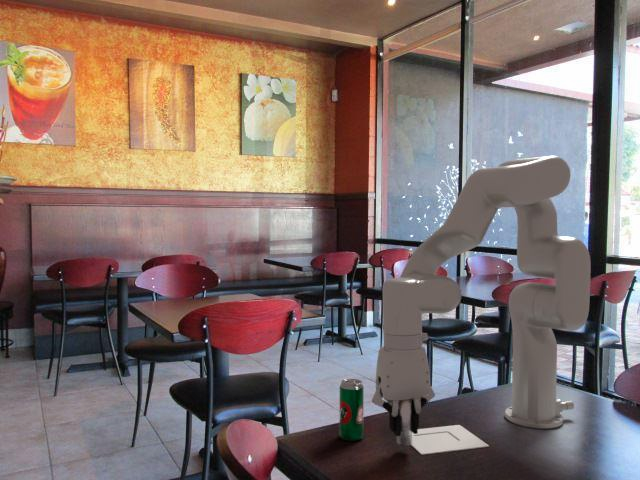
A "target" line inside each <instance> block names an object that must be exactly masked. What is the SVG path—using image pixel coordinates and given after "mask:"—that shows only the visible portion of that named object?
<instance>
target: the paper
mask: <svg viewBox="0 0 640 480" xmlns="http://www.w3.org/2000/svg"><path fill="white" fill-rule="evenodd" d="M410 446H412V448H414V449H415V450H416V451H417V452H418V454H419V455H421V456H425V455H432V454H433V455H434V454H440V453H449V452H455V451H456V452H457V451H466V450H473V449H480V448H489V447H490V445H489V444H487V443H486V442H484V441H483V440H482V439H481V438H479V437H478V436H476V435H475V434H473V433H472V432H471V431H469V430H467V429H466V428H465V427H464V426H462V425H460V424H454V425H446V426H436V427H427V428H418V433H417V434H414V433H413V432H412V444H411V445H410Z"/></svg>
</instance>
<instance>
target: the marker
mask: <svg viewBox="0 0 640 480" xmlns="http://www.w3.org/2000/svg"><path fill="white" fill-rule="evenodd" d="M398 415H399V416H400V418H401V435H400V436H396V444H398V446H402V447H409V446H411V444H412V400H411V399H407V400H399V403H398Z"/></svg>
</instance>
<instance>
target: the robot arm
mask: <svg viewBox="0 0 640 480" xmlns="http://www.w3.org/2000/svg"><path fill="white" fill-rule="evenodd" d="M570 181H571V169H570V166H569V165H568V163H567V161H566V160H565V159H563V158H562V157H560V156H557V155H545V156H536V157H535V156H534V157H525V158H518V159H517V158H516V159H512V160H507V161H505V162H502V163H500V164H499V165H498V166H495V167H486V168H480V169H477V170H475V171H474V172H472V173H471V174H470V175H469V177H468V178H467V180H466V181H465V183H464V185H463V186H462V188H461V191H460V193H459V195H458V197H457V199H456V200H455V203H454V205H453V206H452V208H451V210H450V213H449V214H448V215H447V218H446V220H445V221H444V223H443V225H442V226H441V227H439V228H438V229H437V230H436V231H435V232H433V233H432V234H431V235H430V236H428V237H427V238H426V239H425V240H424V241H423V242H422V243H420V244H419V246H418V247H417V248H416V249H415V250H414V251H413V252H412V254H411V255H410V257H409V259H408V261H407V262H406V264H405V265H404V268H403V269H402V272H401V274H400V276H399V277H393V278H388V279H386V280H385V281H384V282H383V284H382V316H383V317H382V321H383V323H382V327H383V328H382V329H383V330H382V331H383V346H380V347H379V349H378V355H377V361H376V362H377V363H376V371H375V373H376V374H375V392H374V395H373V396H372V398H371V402H372V403H373V404H374V405H376V406H378V407H380V408H383V409H384V410H386V412H388V416H389V429H390V431H391V432H392V433H393V434H394V435H395V436H396V437H397V436H400V435H401V418H400V416H399V415H398V403H399V400H407V399H411V400H412V432H413V433H414V434H417V433H418V429H419V428H420V414H421V412H422V409H423V408H424V407H425V406H426V404H427V402H429V401H431V400H432V399H433V398H435V396H436V393H435V392H434V390H433V388H432V386H431V376H430V366H429V360H428V356H427V350H426V347H425V346H424V342H425V340H426V341H427V340H429V335H428V333H427V332H423V316H422V315H424V314H437V315H438V314H439V315H440V314H448V313H450V312H452V311H454V310H455V309H457V307H458V306H459V304H460V303H461V300H462V289H461V287H460V286H459V283H457V282H456V280H455V279H453V278H451V277H448V276H446V275H445V276H444V275H439V274H436V272H437V270H439V268H441V266H442V265H444V263H446V262H447V261H449V260H450V259H453V258H454V257H456V256H459V255H461V254H464V253H466V252H468V251H470V250H472V249H474V248H476V247H478V246H479V245H481V243H482V242H483V241H484V238H485V237H486V234H487V232H488V230H489V227H490V226H491V224H492V222H493V219H494V218H495V217H496V214H497V212H498V210H499V209H501V208H514V211H515V213H516V220H517V221H516V222H517V224H516V225H517V232H516V233H517V237H516V239H517V240H516V241H517V243H516V263H517V268H518V270H519V272H521V273H522V274H524V275H527V276H530V277H533V278H534V277H535V278H544V279H553V280H554V281H555V284H552V283H551V284H550V283H542V282H533V281H532V282H531V281H528V282H522V283H520V284H518V285H515V287H514V288H512V291H510V293H509V297H508V309H509V315H510V320H511V329H512V369H511V370H512V372H511V373H512V383H511V385H512V386H511V390H512V391H511V393H512V394H511V406H509V407H507V408H506V409H505V411H504V416H505V419H507V420H508V421H509V422H511V423H512V424H515V425H519V426H523V427H525V428H530V429H531V428H532V429H542V430H543V429H553V428H558V427H560V426H562V425H563V424H564V416H563V415H562V414H561V413H562V412H563V411H571V410H574V409H575V404H574V402H573V401H572V400H567V401H562V400H561V399H560V398H559V399H558V398H557V376H558V372H557V370H558V367H557V366H558V365H557V364H558V344H557V339H556V336H555V333H554V331H553V329H555V330H560V331H565V332H575V331H578V330H580V329H582V327H584V326H585V324H586V322H587V320H588V317H589V312H590V301H591V299H590V297H591V271H592V270H591V266H592V265H591V264H592V263H591V262H592V261H591V255H590V251H589V249H588V248H587V246H586V244H585V243H584V242H583V240H581V239H579V238H576V237H573V236H567V235H565V236H563V235H562V236H561V235H560V236H559V235H558V234H559V233H558V214H557V209H556V207H555V204H554V203H553V201H552V199H551V198H554V197H556V196H559V195H560V194H562V193H563V192H564V191H565V190H566V189H567V188H568V186H569V185H570Z"/></svg>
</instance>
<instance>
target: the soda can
mask: <svg viewBox="0 0 640 480" xmlns="http://www.w3.org/2000/svg"><path fill="white" fill-rule="evenodd" d="M364 391H365V390H364V385H363V382H362V380H360V379H356V378H344V379H342V380H341V383H340V385H339V437H340V438H341V439H342V440H343V441H346V442H347V441H348V442H356V441H359V440H362V438H363V437H364V407H365V406H364V403H365V402H364V396H365V395H364Z"/></svg>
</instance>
